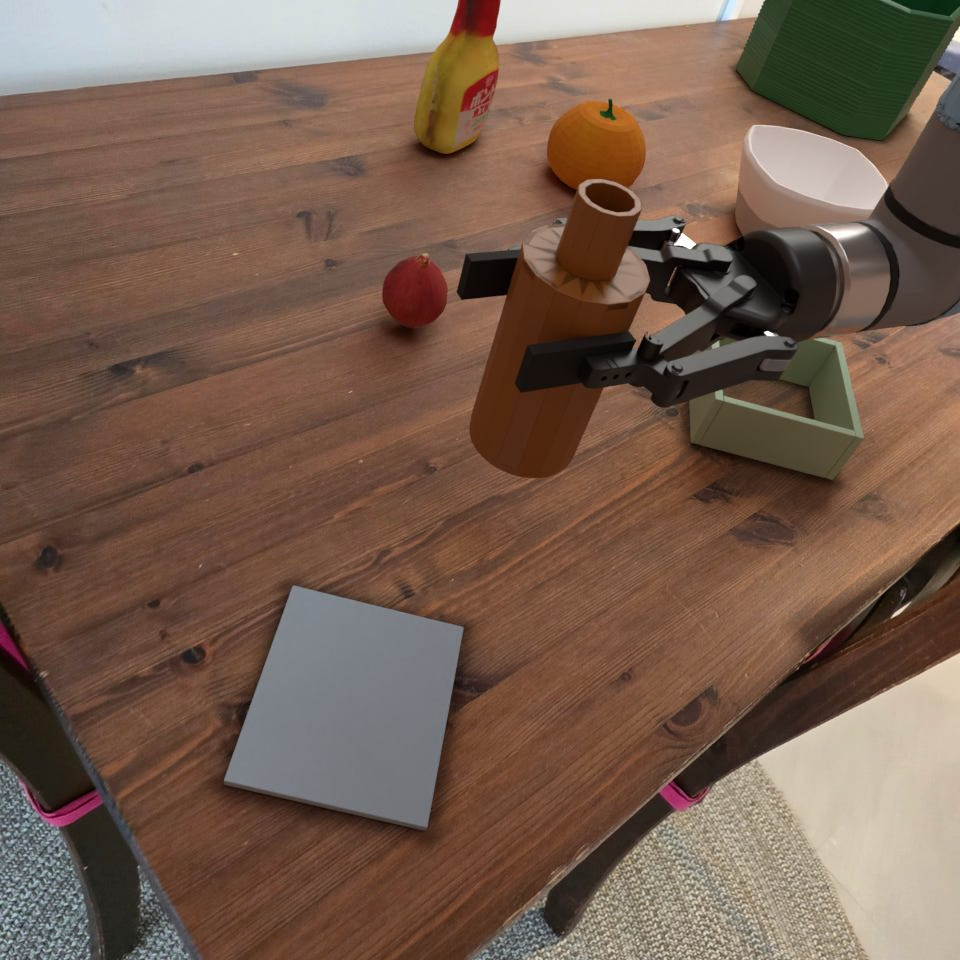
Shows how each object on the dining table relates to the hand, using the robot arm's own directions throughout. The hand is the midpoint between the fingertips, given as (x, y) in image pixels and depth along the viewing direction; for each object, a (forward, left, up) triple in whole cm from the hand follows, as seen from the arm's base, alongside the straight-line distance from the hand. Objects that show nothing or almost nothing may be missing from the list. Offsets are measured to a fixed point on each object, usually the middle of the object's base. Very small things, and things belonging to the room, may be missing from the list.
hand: (493, 321), depth 49 cm
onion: (+25, +6, -22) cm, 34 cm away
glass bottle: (+3, -4, -11) cm, 12 cm away
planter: (+111, -46, -22) cm, 122 cm away
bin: (+26, -28, -22) cm, 44 cm away
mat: (-13, +2, -22) cm, 25 cm away
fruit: (+61, -9, -22) cm, 66 cm away
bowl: (+61, -34, -22) cm, 73 cm away
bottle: (+61, +8, -22) cm, 66 cm away
